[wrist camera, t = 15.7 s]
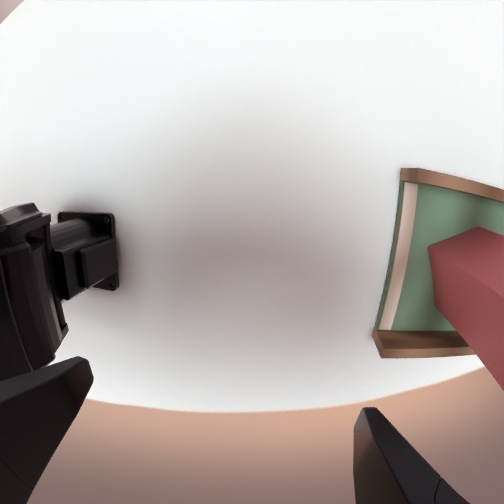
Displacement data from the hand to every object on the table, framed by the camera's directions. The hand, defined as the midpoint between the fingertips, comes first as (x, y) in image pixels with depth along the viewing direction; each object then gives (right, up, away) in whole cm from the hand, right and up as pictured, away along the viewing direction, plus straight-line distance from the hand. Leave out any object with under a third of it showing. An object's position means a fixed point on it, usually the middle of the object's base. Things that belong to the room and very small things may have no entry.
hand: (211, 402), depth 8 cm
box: (+17, +3, +10) cm, 20 cm away
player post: (+17, +3, +10) cm, 20 cm away
